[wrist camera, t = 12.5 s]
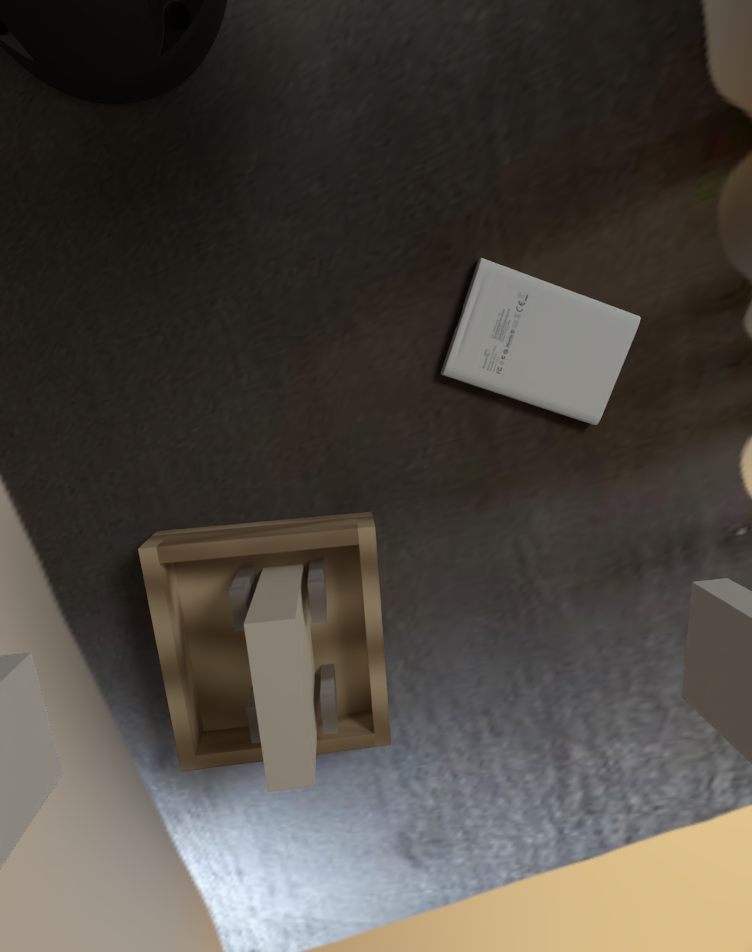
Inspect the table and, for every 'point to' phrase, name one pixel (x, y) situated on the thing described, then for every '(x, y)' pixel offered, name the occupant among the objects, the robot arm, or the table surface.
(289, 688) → the beige rectangular block
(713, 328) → the table surface
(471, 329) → the external hard drive
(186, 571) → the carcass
